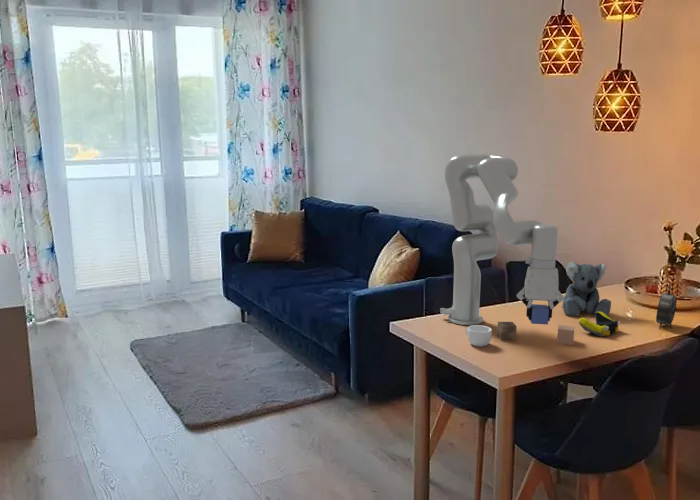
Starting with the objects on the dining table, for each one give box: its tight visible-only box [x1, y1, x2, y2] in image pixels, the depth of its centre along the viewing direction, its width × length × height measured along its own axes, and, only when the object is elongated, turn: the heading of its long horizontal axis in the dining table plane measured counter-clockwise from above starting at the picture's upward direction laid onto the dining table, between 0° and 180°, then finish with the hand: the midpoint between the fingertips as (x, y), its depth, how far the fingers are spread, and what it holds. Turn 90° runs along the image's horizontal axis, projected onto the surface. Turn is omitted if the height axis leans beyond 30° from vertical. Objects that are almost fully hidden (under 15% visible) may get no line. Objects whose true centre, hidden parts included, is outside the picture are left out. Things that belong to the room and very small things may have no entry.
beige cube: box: [556, 324, 575, 346], centre depth 217 cm, size 5×5×5 cm
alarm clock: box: [655, 282, 678, 330], centre depth 233 cm, size 11×5×16 cm, turn 145°
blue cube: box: [529, 303, 549, 325], centre depth 209 cm, size 5×5×5 cm
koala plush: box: [561, 261, 612, 317], centre depth 252 cm, size 17×18×20 cm
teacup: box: [464, 324, 493, 348], centre depth 215 cm, size 10×8×5 cm
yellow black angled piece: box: [578, 311, 621, 337], centre depth 228 cm, size 15×6×10 cm
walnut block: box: [496, 321, 517, 341], centre depth 221 cm, size 5×5×5 cm
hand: (538, 318), depth 210 cm, fingers closed on blue cube, 4 cm apart
